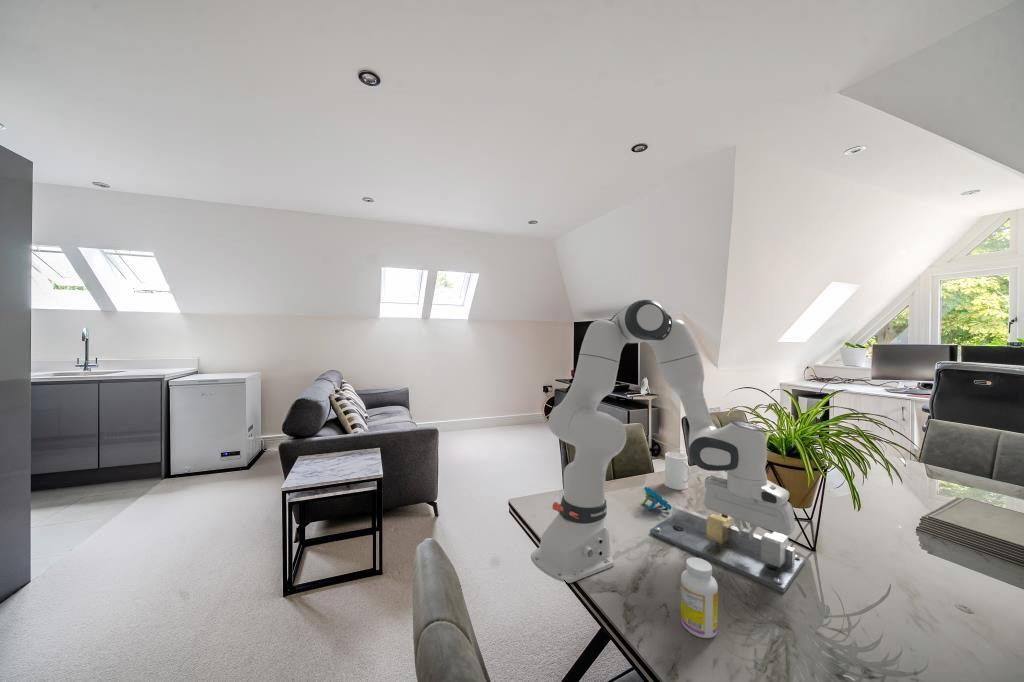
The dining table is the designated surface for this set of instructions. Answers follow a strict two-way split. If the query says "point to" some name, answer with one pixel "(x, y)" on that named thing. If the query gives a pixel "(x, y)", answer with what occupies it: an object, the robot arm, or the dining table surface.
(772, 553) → the trammel bar
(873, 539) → the dining table surface
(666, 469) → the mug
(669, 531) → the bolt plate
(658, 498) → the gear
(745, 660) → the dining table surface
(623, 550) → the dining table surface
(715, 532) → the block
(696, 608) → the supplement bottle
